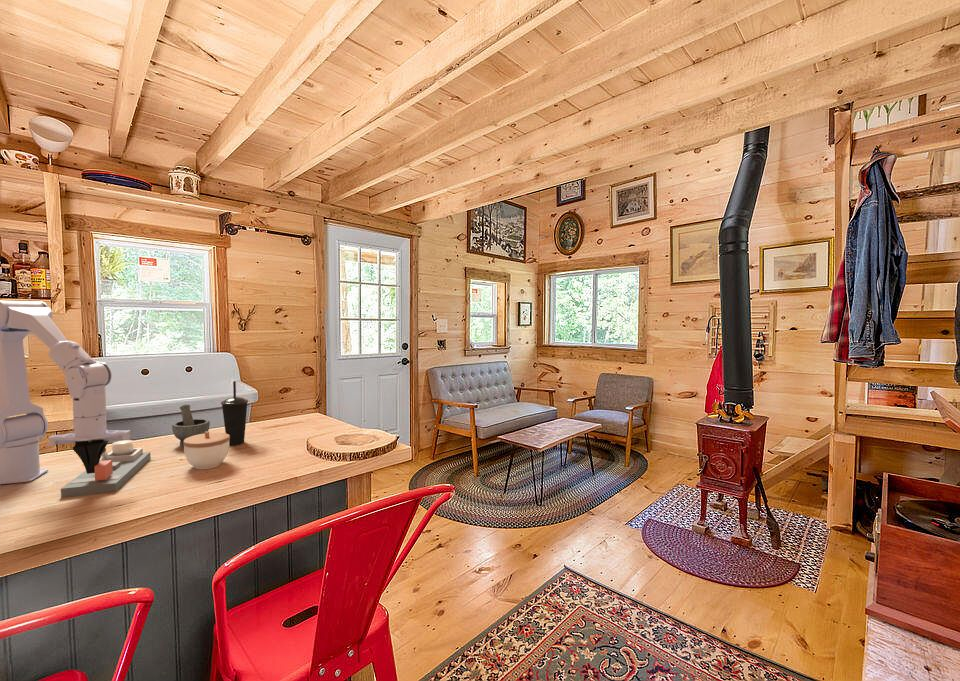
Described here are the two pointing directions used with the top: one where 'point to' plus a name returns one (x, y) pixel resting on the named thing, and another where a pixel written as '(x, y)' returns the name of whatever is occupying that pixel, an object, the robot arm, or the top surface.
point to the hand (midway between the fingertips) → (92, 471)
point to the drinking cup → (235, 417)
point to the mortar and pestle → (189, 425)
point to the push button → (122, 447)
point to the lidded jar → (206, 449)
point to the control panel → (121, 474)
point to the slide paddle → (103, 470)
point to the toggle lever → (105, 455)
